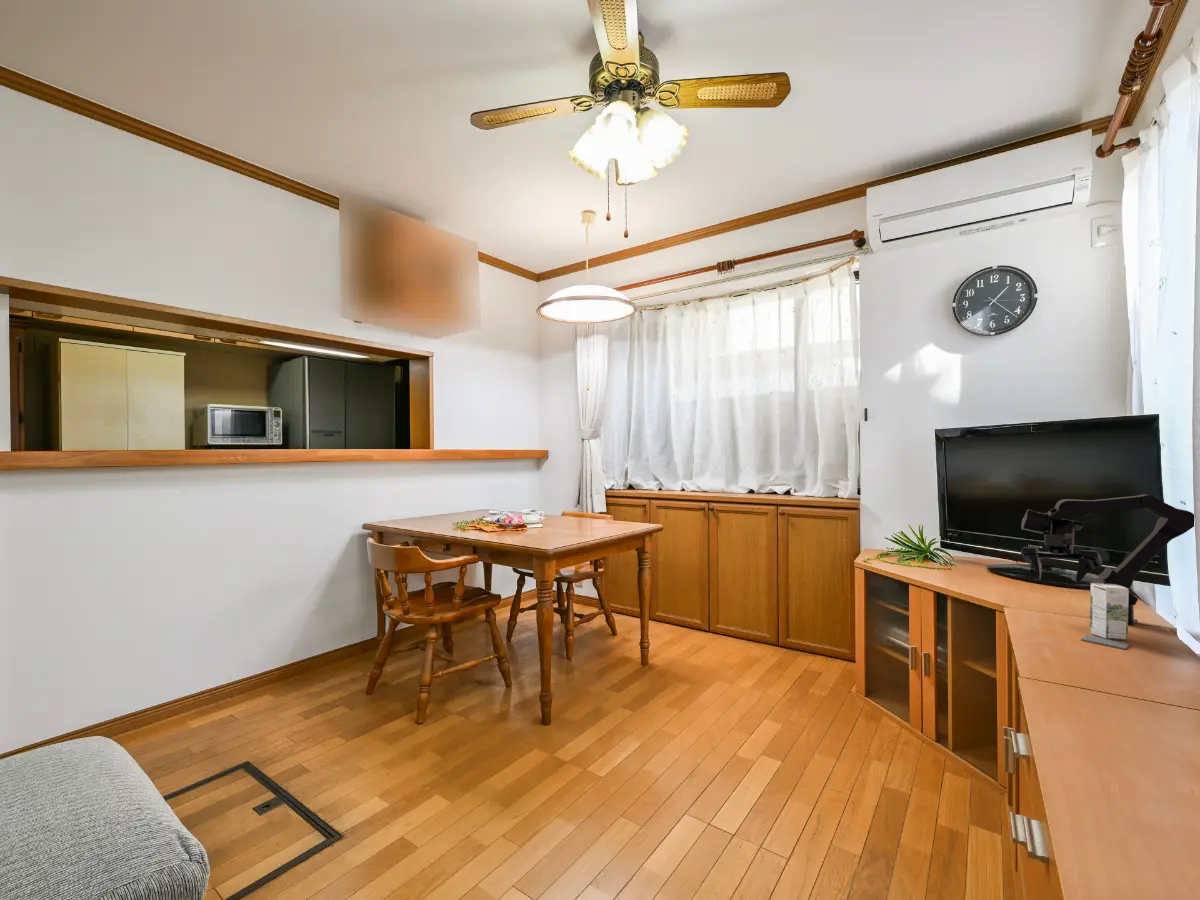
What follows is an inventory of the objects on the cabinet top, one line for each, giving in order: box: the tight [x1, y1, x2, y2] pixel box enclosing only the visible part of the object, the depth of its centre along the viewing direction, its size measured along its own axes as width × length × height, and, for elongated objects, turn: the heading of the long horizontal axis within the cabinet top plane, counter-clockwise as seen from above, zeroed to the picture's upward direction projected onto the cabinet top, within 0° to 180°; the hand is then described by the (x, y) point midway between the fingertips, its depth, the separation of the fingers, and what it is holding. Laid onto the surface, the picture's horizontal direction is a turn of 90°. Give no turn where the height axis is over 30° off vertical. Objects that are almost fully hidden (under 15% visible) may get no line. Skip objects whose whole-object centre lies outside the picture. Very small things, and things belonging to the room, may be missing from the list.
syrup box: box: [1089, 582, 1130, 641], centre depth 152 cm, size 6×6×14 cm
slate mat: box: [1080, 634, 1132, 650], centre depth 148 cm, size 6×9×1 cm, turn 35°
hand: (1057, 580), depth 166 cm, fingers open, 9 cm apart
